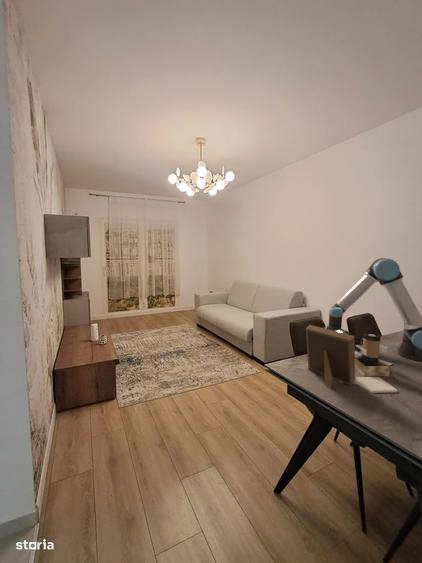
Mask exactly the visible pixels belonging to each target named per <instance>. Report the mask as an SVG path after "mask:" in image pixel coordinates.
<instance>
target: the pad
mask: <svg viewBox="0 0 422 563" xmlns="http://www.w3.org/2000/svg"><path fill="white" fill-rule="evenodd" d="M355 381H357V382H358V383H360V385H362V386H364V387H365V388H366V389H367V390H368V391H369V392H371V393H372V394H377V393H379V394H381V393H382V394H383V393H398V389H396V388H395V386H392V385H391V384H390V383H389V382H387V381H386V380H384V379H382V378H381V376H355Z"/></svg>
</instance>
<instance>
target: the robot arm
mask: <svg viewBox="0 0 422 563" xmlns="http://www.w3.org/2000/svg"><path fill="white" fill-rule="evenodd" d="M403 278H404V276H403V273H402V271H401V267H400V265H399V263H397V262H396V261H395V260H394V259H392V258H387V257H381V258H377V259H376V260H374V261H373V262H372V264H371V265H370V266H369V268H367V269H366V270H365V272H364V275H363V276H362V277H361V278H360V279H359V280H358V281H357V282H355V284H353V286H352V287H351V288H350V289H349V290H348V291H347V292H346V293H345V294H344V295H343V296H342V297H341V298H340V299H339V300H338V301H337V302H336V303H335V304H334V305H333V306H331V307H330V308H329V312H328V314H329V315H328V324H326V325H325V327H323V328H324V329H328V330H332V331H336V332H340V333H344V334H348V335H352V336H355V352H358V353H360V354H361V355H362V354H364V355H367V350H366V349H364V348H363V339H364V337H362V336H361V337H357V336H356V335H355V334H354V333H353V332H350V331H348V330H346V329H343V326H342V323H343V322H342V321H343V316H344V313H345V312H346V311H347V310H349V309H350V308H351V307H352V306H353V305H354V304H355V303H356V302H357V301H358V300H359V299H360V298H361V297H362V296H363V295H364V294H365V293H367V291H368V290H369V289H370V288H372V287H373V285H375V284H376V283H379V285H380V286H382V287H384V289H386V291H387V293H388V295H389V297H390V299H391V301H392V302H393V304H394V306H395V308H396V309H397V311H398V313H399V315H400V317H401V319H402V321H403V324H404V325H403V332H402V341H401V343H400V345H399V347H398V348H397V354H398V355H399V356H400V357H403V358H405V359H409V360H412V361H418V362H419V361H420V362H422V315H421V313H420V311H419V309H418V308H417V307H418V306H416V304H415V302H414V300H413V298H412V296H411V295H410V293H409V291H408V289H407V287H406V286H405V283H404V282H403ZM361 346H362V347H361ZM380 351H381V352H382V353H385V354H387V353H388V347H386V346H383V345H381V344H380V348H379V352H380Z"/></svg>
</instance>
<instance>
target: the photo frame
mask: <svg viewBox="0 0 422 563" xmlns="http://www.w3.org/2000/svg"><path fill="white" fill-rule="evenodd" d="M324 328H325V327H319V326H316V325H312V324H309V325H308V326H307V327H306V328H305V337H306V353H307V355H306V356H307V367H308V370H310V371H313V372H315V373H319V374H321V375H323V376H324V385H326V387H328V388H329V389H332V386H333V381H334V380H336V381H338V382H341V383H343V384H346V385H348V386H352V385H353V384H354V382H355V381H356V369H355V356H356V350H355V346H356V345H355V337H356V335H355V336H352V335H348V334H344V333H340V332H336V331H332V330H328V329H324Z"/></svg>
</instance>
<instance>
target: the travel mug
mask: <svg viewBox="0 0 422 563" xmlns="http://www.w3.org/2000/svg"><path fill="white" fill-rule="evenodd" d="M363 338H364V339H363V345H362V348H364V349H366V350H367V355H364V354H362V353H361V356H362V360H361V363H362V364H364V365H365V366H377V365H378V360H379V357H380V350H379V348H380V345H381V334H379V333H376V332H371V331H369V332H368V331H367V332H365V333H363Z"/></svg>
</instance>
